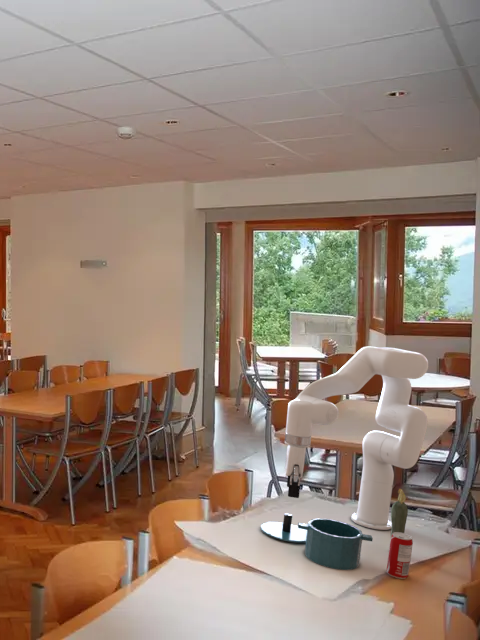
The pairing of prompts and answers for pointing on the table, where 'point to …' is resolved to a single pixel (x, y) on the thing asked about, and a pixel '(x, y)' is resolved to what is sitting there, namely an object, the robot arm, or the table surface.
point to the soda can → (399, 555)
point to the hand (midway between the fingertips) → (292, 492)
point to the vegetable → (399, 514)
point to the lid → (284, 530)
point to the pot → (333, 543)
